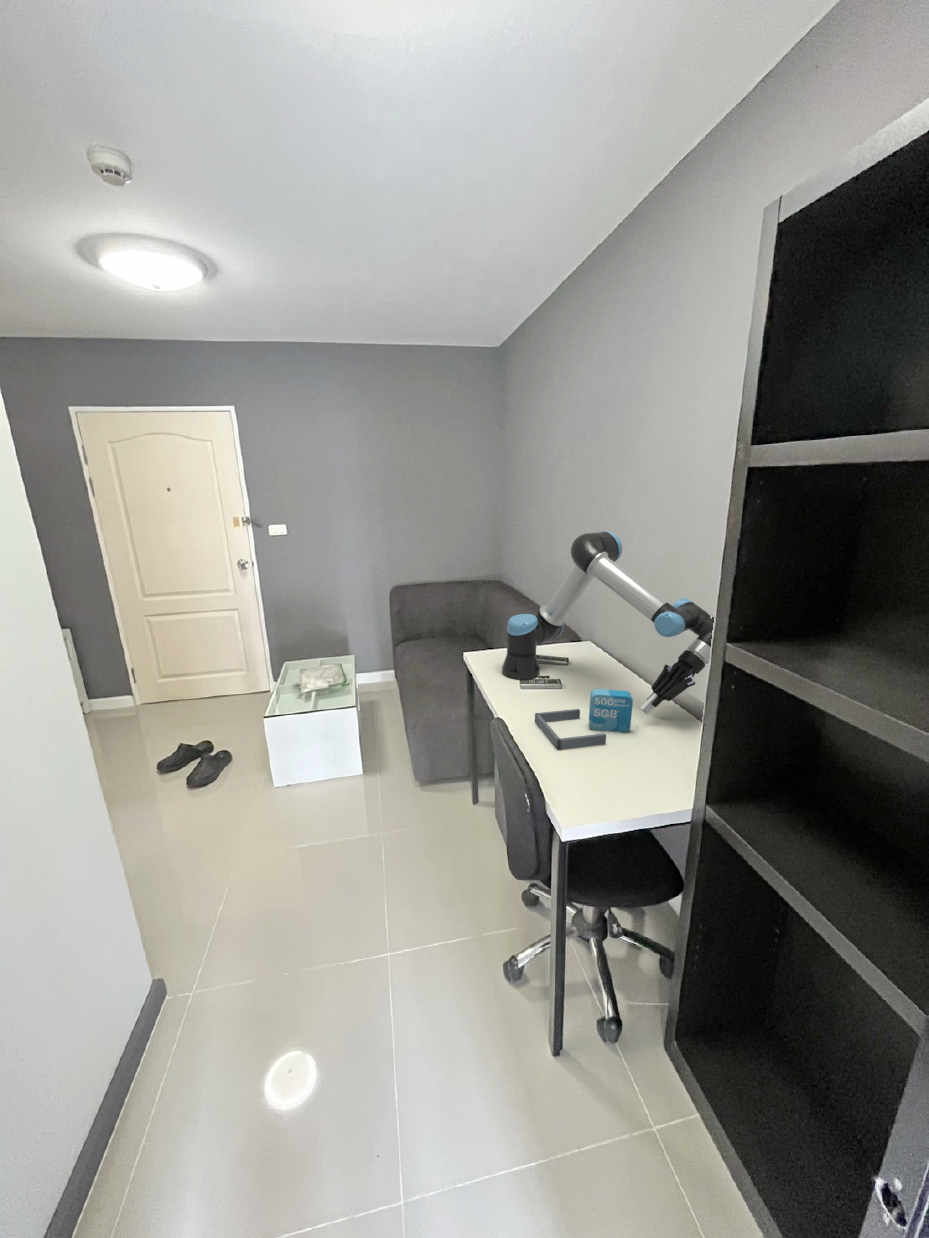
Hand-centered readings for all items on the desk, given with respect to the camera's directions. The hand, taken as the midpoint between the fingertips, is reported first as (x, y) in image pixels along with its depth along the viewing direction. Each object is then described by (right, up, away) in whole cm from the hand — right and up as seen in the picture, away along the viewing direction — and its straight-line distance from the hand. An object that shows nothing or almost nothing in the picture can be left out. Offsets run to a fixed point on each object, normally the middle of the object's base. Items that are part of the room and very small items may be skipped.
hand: (643, 711), depth 152 cm
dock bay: (-24, -6, -4) cm, 25 cm away
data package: (-11, -5, -1) cm, 12 cm away
